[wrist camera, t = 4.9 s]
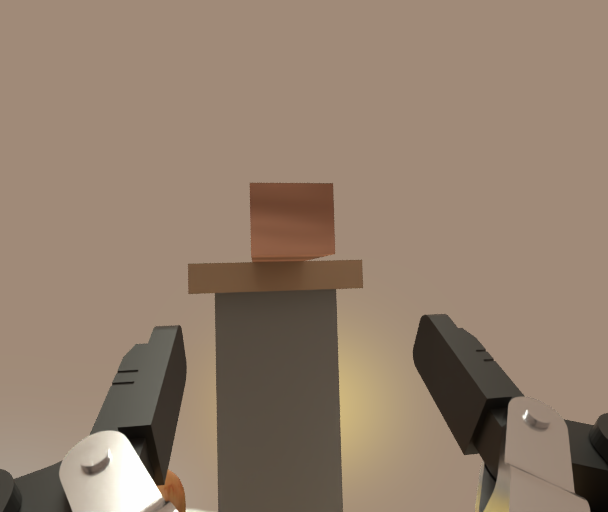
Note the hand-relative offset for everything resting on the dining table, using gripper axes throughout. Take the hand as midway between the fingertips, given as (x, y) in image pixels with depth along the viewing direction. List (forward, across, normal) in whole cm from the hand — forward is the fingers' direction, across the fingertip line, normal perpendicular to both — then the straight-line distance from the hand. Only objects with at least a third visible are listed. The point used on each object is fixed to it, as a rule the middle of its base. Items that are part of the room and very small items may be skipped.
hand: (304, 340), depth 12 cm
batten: (+15, 0, +5) cm, 16 cm away
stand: (+3, 0, +36) cm, 36 cm away
